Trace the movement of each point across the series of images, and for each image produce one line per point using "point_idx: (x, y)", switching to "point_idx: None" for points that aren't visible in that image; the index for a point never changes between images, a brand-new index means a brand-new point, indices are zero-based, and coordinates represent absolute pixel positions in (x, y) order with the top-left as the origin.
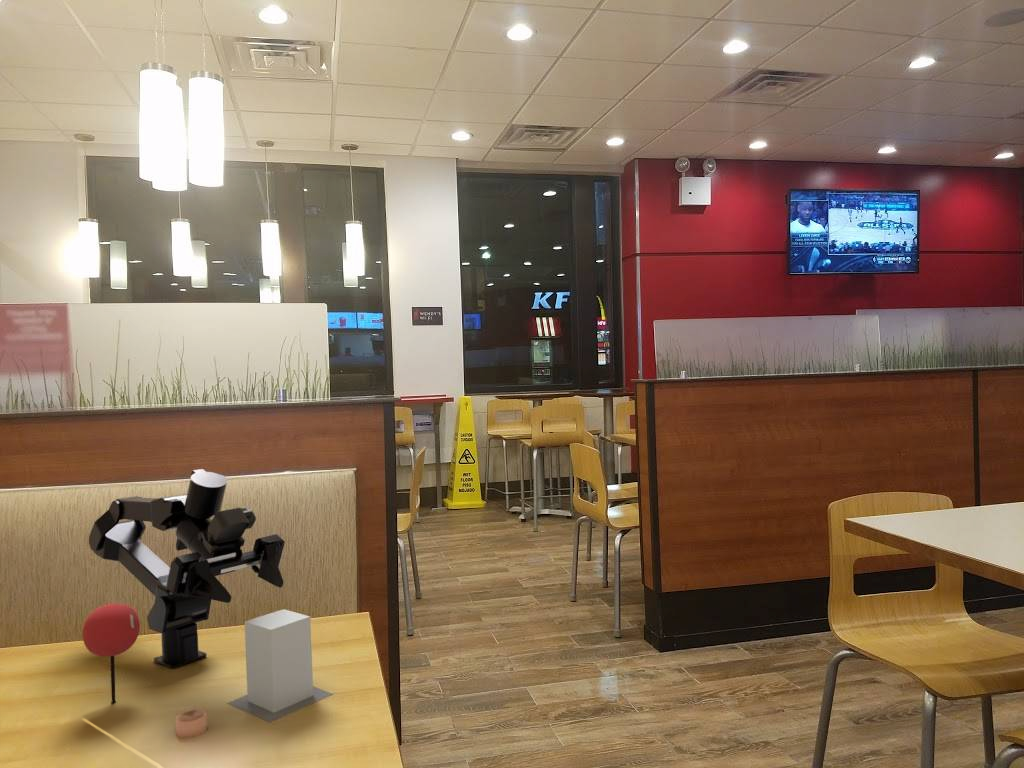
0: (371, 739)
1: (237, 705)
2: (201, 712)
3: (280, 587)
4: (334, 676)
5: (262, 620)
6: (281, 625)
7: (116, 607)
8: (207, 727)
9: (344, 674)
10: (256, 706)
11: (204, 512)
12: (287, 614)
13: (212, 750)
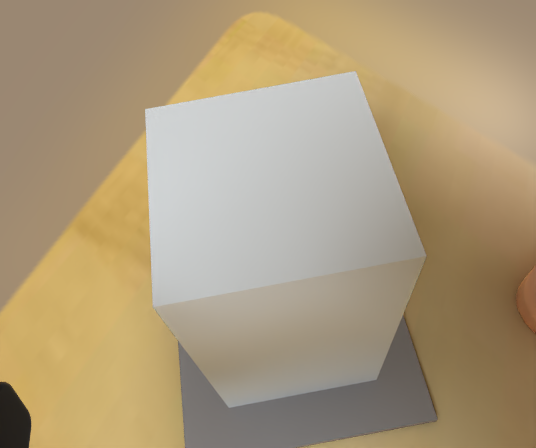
0: (237, 56)
1: (413, 371)
2: None
3: (28, 418)
4: (80, 378)
5: (338, 201)
6: (297, 87)
7: None
8: (521, 286)
9: (52, 368)
10: None
11: None
12: (195, 203)
13: (516, 190)
